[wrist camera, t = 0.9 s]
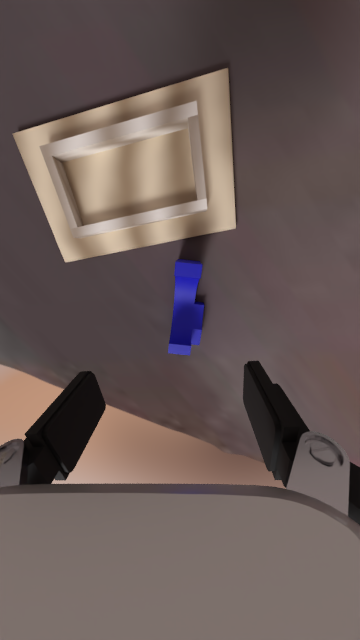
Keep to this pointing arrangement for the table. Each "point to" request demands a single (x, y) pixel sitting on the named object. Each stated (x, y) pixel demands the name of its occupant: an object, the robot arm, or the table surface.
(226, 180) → the clip cradle
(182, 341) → the blue curved piece
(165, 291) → the table surface
